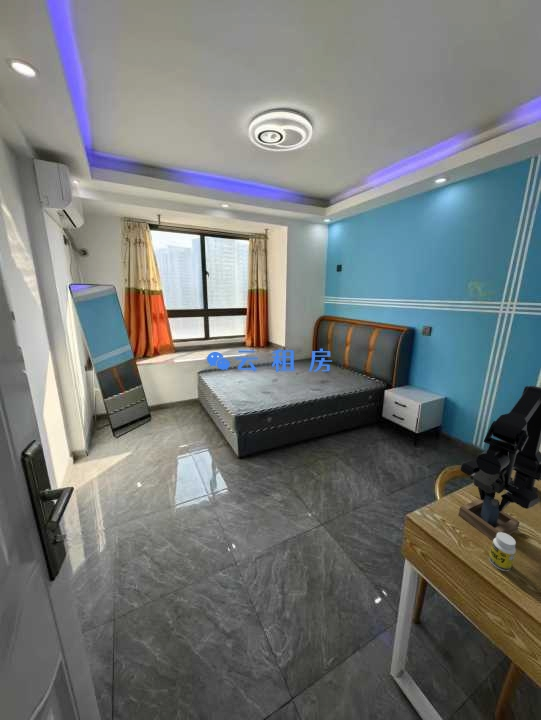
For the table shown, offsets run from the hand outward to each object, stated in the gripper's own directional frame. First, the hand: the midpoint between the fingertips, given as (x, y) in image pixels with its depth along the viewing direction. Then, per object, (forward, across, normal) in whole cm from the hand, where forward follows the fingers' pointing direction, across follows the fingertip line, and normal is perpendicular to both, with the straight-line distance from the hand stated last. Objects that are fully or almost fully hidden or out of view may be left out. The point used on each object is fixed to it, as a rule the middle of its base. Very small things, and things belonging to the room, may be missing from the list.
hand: (491, 505), depth 89 cm
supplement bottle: (+7, +10, -12) cm, 17 cm away
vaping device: (+6, 0, 0) cm, 6 cm away
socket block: (+6, 0, 0) cm, 6 cm away
